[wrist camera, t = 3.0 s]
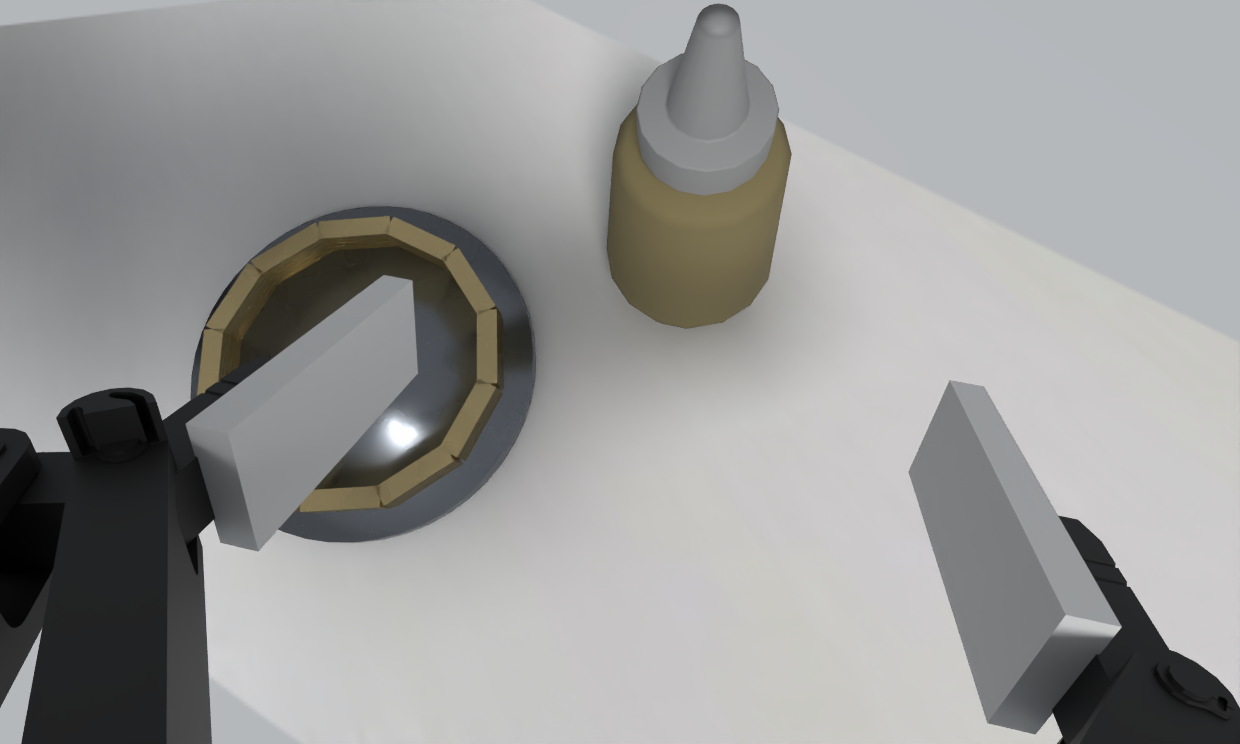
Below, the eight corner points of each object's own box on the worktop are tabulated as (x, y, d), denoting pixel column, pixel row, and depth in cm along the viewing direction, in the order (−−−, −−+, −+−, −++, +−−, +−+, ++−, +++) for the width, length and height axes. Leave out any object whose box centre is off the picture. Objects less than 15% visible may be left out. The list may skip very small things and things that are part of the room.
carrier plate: (137, 443, 34) (97, 437, 32) (321, 168, 38) (299, 143, 35) (425, 608, 31) (406, 614, 29) (595, 294, 35) (590, 276, 33)
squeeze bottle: (725, 189, 36) (793, -133, 19) (786, 317, 34) (924, 89, 17) (590, 239, 36) (530, -41, 18) (643, 371, 34) (632, 197, 16)
